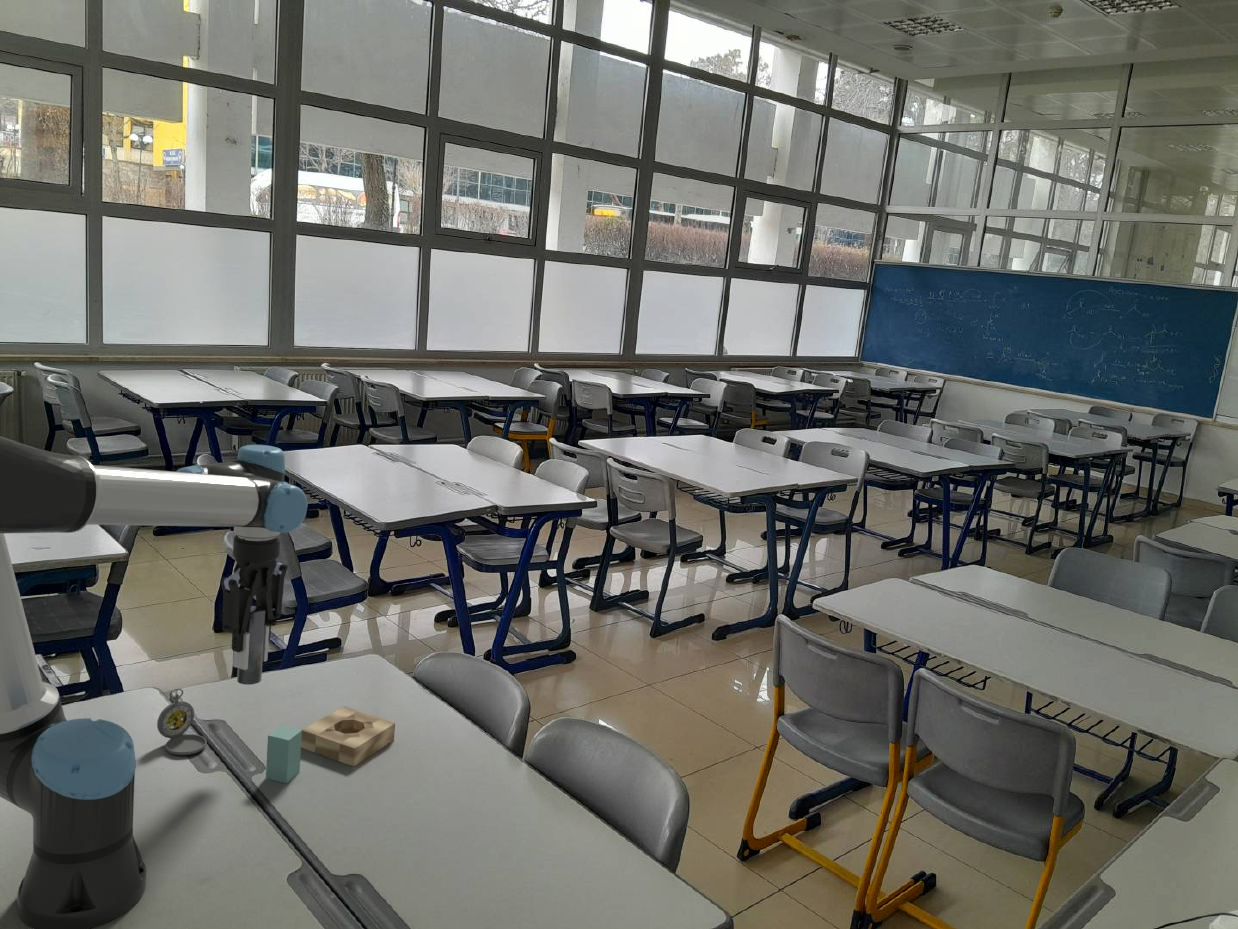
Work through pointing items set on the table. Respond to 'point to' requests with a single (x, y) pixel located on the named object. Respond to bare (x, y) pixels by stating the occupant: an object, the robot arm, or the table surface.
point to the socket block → (348, 735)
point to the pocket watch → (179, 728)
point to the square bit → (283, 754)
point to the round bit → (254, 647)
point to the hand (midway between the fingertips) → (250, 663)
